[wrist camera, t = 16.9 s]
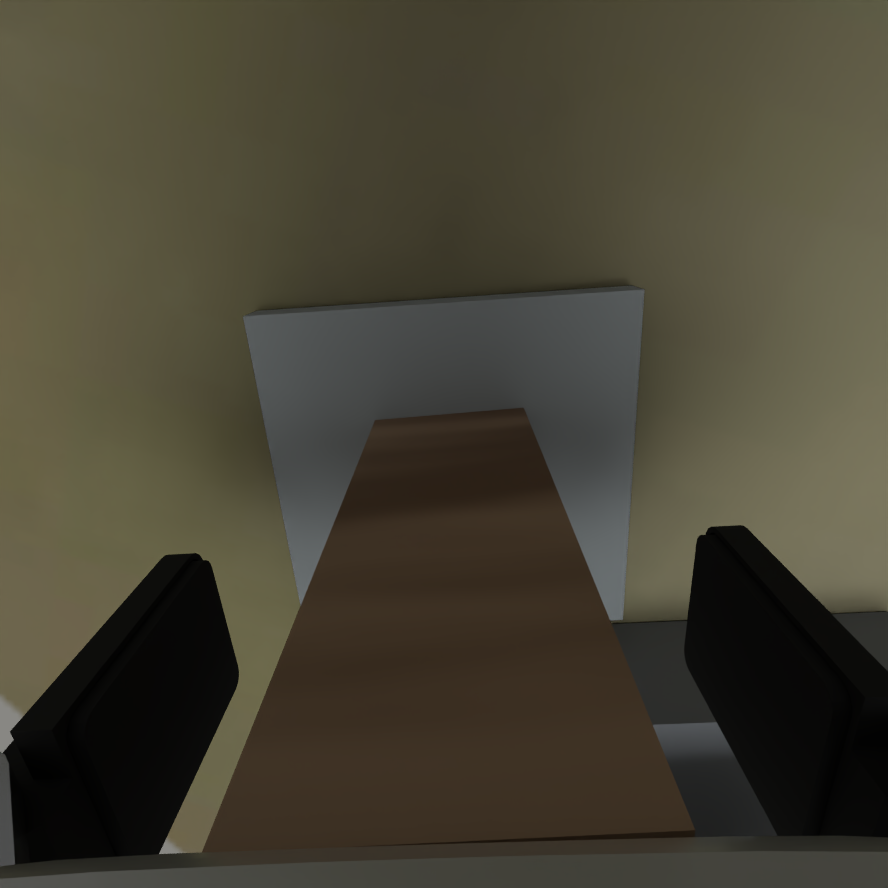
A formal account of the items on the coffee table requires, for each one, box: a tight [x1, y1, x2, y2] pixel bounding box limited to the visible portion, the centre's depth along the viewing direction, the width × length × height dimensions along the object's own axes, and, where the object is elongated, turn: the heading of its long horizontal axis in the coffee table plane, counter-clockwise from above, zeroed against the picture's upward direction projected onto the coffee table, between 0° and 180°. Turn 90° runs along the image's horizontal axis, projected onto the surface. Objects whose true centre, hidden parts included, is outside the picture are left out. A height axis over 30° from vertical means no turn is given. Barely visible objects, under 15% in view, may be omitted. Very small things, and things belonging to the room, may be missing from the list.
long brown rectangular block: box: [202, 408, 695, 853], centre depth 10 cm, size 4×4×12 cm
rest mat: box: [243, 286, 644, 620], centre depth 16 cm, size 10×10×1 cm
